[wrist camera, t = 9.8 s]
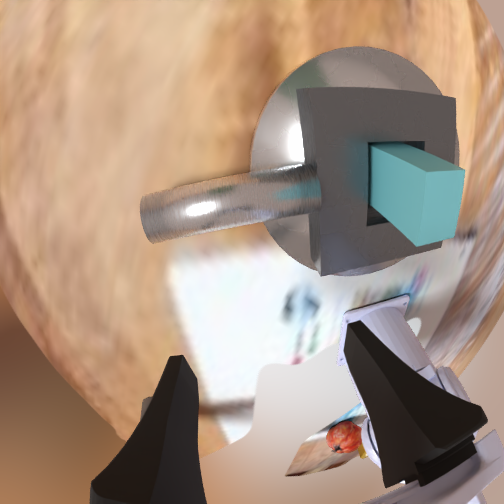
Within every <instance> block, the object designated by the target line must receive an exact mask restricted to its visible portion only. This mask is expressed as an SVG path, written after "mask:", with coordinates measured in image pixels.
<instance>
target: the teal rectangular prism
mask: <svg viewBox="0 0 504 504" xmlns="http://www.w3.org/2000/svg"><path fill="white" fill-rule="evenodd" d="M464 177H465V170H464V169H462V168H460V167H458V166H456V165H454V164H452V163H450V162H448V161H446V160H443V159H441V158H439V157H437V156H434V155H432V154H430V153H427V152H425V151H422V150H420V149H418V148H415V147H412V146H410V145H407V144H405V143H402V142H399V141H386V142H368V203H369V204H370V205H371V206H372V207H374V208H375V209H376V210H377V211H378V212H379V213H381V214H382V215H383V216H384V217H385V218H386V219H387V220H388V221H390V222H391V223H392V224H393V225H394V226H395V227H396V228H397V229H398V230H400V231H401V232H402V233H403V234H404V235H405V236H406V237H407V238H408V239H409V240H410V241H411V242H412V243H413V244H414V245H415V246H416V247H418V246H422V245H426V244H430V243H434V242H438V241H442V240H445V239H449V238H453V237H454V235H455V230H456V226H457V221H458V216H459V210H460V205H461V199H462V192H463V185H464Z"/></svg>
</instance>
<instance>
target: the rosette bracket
mask: <svg viewBox="0 0 504 504" xmlns="http://www.w3.org/2000/svg"><path fill="white" fill-rule="evenodd" d="M386 141H399V142H402V143H405V144H407V145H410V146H412V147H415V148H418V149H420V150H422V151H425V152H427V153H430V154H432V155H434V156H437V157H439V158H441V159H443V160H446V161H448V162H450V163H452V164H454V165H456V166H458V167H459V141H458V135H457V129H456V98H453V97H448V96H443V95H442V93H441V92H440V90H439V89H438V87H437V86H436V85H435V84H434V82H433V81H432V80H431V79H430V78H429V77H428V76H427V75H426V74H425V73H424V72H423V71H422V70H421V69H420V68H418V67H417V66H416V65H414V64H413V63H412V62H410V61H408V60H406V59H405V58H403V57H401V56H399V55H397V54H394V53H392V52H389V51H386V50H382V49H378V48H372V47H355V46H354V47H346V48H339V49H336V50H332V51H329V52H326V53H323V54H320V55H317V56H315V57H313V58H312V59H310V60H308V61H306V62H304V63H302V64H301V65H300V66H298V67H297V68H295V69H294V70H293V71H291V72H290V73H289V74H288V75H287V76H286V77H285V78H284V79H283V80H282V81H281V82H280V83H279V84H278V85H277V87H276V88H275V89H274V91H273V92H272V94H271V95H270V96H269V98H268V99H267V101H266V103H265V105H264V107H263V109H262V111H261V113H260V115H259V118H258V121H257V124H256V126H255V129H254V132H253V138H252V143H251V149H250V166H249V168H250V172H248V173H242V174H237V175H232V176H226V177H221V178H216V179H211V180H207V181H202V182H197V183H193V184H188V185H184V186H180V187H175V188H171V189H167V190H163V191H159V192H155V193H151V194H147V195H144V196H143V197H142V199H141V203H140V215H141V221H142V225H143V229H144V232H145V234H146V236H147V238H148V240H149V241H150V242H151V243H153V244H154V243H159V242H163V241H168V240H173V239H178V238H183V237H187V236H192V235H197V234H202V233H207V232H212V231H217V230H222V229H228V228H233V227H238V226H243V225H249V224H254V223H259V222H264V224H265V226H266V228H267V230H268V231H269V233H270V235H271V236H272V237H273V239H274V240H275V241H276V242H277V244H278V245H279V246H280V247H281V248H282V249H283V250H284V251H285V252H286V253H287V254H288V255H289V256H291V257H292V258H294V259H295V260H296V261H298V262H299V263H301V264H303V265H305V266H307V267H309V268H311V269H313V270H316V271H318V272H319V274H320V276H326V275H330V274H331V275H338V276H356V275H364V274H369V273H373V272H376V271H379V270H382V269H385V268H387V267H389V266H392V265H394V264H395V263H397V262H399V261H401V260H402V259H404V258H405V257H407V256H410V255H414V254H418V253H422V252H426V251H429V250H433V249H437V248H441V245H442V241H443V240H442V241H438V242H434V243H430V244H426V245H422V246H418V247H416V246H415V245H414V244H413V243H412V242H411V241H410V240H409V239H408V238H407V237H406V236H405V235H404V234H403V233H402V232H401V231H400V230H398V229H397V228H396V227H395V226H394V225H393V224H392V223H391V222H390V221H388V220H387V219H386V218H385V217H384V216H383V215H382V214H381V213H379V212H378V211H377V210H376V209H375V208H374V207H372V206H371V205H370V204H369V203H368V142H386Z"/></svg>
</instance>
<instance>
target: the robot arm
mask: <svg viewBox="0 0 504 504" xmlns="http://www.w3.org/2000/svg"><path fill="white" fill-rule="evenodd" d="M409 299H410V297H409V296H408V295H404V296H401V297H397V298H394V299H391V300H388V301H384V302H381V303H377V304H374V305H370V306H367V307H363V308H360V309H356V310H352V311H349V312H346V313H345V314H344V315H343V321H342V329H341V337H340V344H339V351H338V358H337V365H338V366H341V365H344V364H345V365H346V367H347V370H348V372H349V375H350V377H351V380H352V382H353V385H354V387H355V390H356V393H357V395H358V398H359V400H360V402H361V403H362V405H363V406H364V407H365V408H366V409H365V410H366V413H367V416H368V417H367V418H366V419H365V420H364V422H363V425H362V430H361V438H362V443H363V446H364V449H365V451H366V453H367V455H368V456H369V458H370V459H371V460H372V461H373V462H374V463H375V464H376V465H378V466H379V467H380V468H381V469H382V475H383V482H384V485H385V488H388V487H390V486H393V485H395V484H397V483H405V484H406V485H405V486H403V487H400V488H398V489H396V490H393V491H391V492H389V493H386V494H384V495H382V496H379V497H377V498H374V499H371V500H369V501H366V502H363V503H360V504H487V503H486V501H485V498H484V496H483V494H482V490H483V489H484V488H485V487H487V486H488V485H489V484H490V483H491V482H492V481H493V480H494V479H495V478H497V477H498V476H499V475H500V474H501V473H502V472H503V471H504V448H503V446H502V443H501V441H500V438H499V436H498V434H497V432H496V430H495V429H494V430H492V431H491V432H490V433H489V434H487V435H486V436H485V437H483V438H482V439H481V440H479V441H478V442H476V443H473V441H474V439H475V437H476V435H477V433H478V430H479V429H480V428H481V427H482V426H484V425H485V424H486V423H487V422H488V419H487V417H486V415H485V413H484V411H483V409H482V408H481V406H479V405H476V404H473V403H471V401H470V399H469V397H468V395H467V393H466V392H465V390H464V388H463V386H462V384H461V383H460V381H459V380H458V378H457V376H456V375H455V373H454V372H453V371H452V369H451V368H450V367H444V366H441V367H440V368H438V369H436V368H435V367H434V365H433V364H432V362H431V360H430V358H429V357H428V355H427V353H426V352H425V350H424V348H423V347H422V345H421V344H420V342H419V340H418V339H417V337H416V336H415V334H414V333H413V331H412V329H411V328H410V326H409V325H408V323H407V322H406V320H405V319H404V316H405V313H406V309H407V306H408V303H409ZM198 411H199V394H198V382H197V378H196V376H195V374H194V373H193V371H192V369H191V368H190V366H189V364H188V362H187V361H186V359H185V357H184V356H183V355H178V356H170V357H169V359H168V361H167V364H166V366H165V369H164V371H163V374H162V376H161V379H160V381H159V383H158V386H157V388H156V390H155V392H154V395H153V397H152V399H151V401H150V403H149V405H148V407H147V409H146V411H145V413H144V415H143V417H142V418H141V420H140V422H139V424H138V425H137V427H136V429H135V430H134V432H133V434H132V435H131V437H130V438H129V439H128V441H127V442H126V444H125V446H124V447H123V448H122V449H121V451H120V452H119V453H118V454H117V455H116V457H115V458H114V459H113V460H112V461H111V462H110V464H109V465H108V466H107V467H106V468H105V469H104V470H103V471H102V472H101V473H100V474H99V475H98V476H97V477H96V478H95V479H94V480H92V482H91V488H90V504H207V502H206V498H205V493H204V488H203V483H202V477H201V470H200V463H199V454H198Z"/></svg>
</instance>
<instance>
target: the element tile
mask: <svg viewBox="0 0 504 504" xmlns="http://www.w3.org/2000/svg"><path fill="white" fill-rule="evenodd" d="M358 451H359V454H360V458H362V459H363V458H366V457H369V456H368V455H367V453H366V451H365V449H364V446H363V443H362V444H361V445H360V446H359V448H358Z"/></svg>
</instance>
